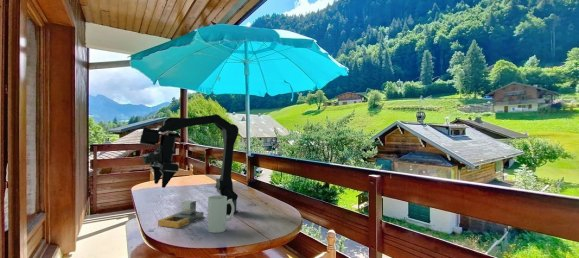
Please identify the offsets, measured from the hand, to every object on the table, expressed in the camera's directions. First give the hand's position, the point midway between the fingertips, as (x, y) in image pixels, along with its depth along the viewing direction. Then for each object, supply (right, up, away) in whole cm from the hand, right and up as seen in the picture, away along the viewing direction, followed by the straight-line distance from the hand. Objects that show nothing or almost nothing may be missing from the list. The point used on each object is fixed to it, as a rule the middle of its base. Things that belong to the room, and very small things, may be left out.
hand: (159, 185), depth 126 cm
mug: (+28, -14, -12) cm, 33 cm away
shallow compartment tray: (+10, -14, -2) cm, 17 cm away
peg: (+11, -14, +3) cm, 18 cm away
